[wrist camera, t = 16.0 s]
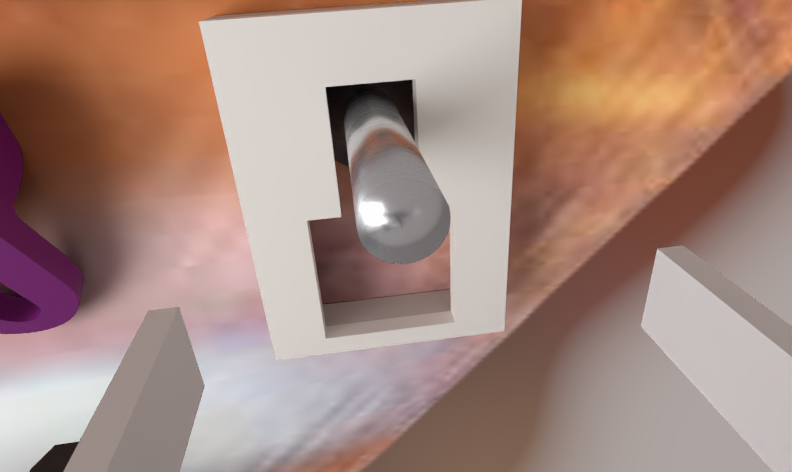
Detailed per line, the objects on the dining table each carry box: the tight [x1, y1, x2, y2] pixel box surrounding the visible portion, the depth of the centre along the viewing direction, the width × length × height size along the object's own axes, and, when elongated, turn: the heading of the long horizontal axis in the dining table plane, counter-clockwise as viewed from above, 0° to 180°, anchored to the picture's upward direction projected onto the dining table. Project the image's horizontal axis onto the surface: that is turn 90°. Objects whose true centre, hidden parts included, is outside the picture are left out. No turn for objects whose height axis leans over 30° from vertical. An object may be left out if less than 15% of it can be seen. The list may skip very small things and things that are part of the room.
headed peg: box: [326, 80, 451, 264], centre depth 27 cm, size 8×8×18 cm
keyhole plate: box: [199, 0, 522, 361], centre depth 35 cm, size 24×18×4 cm
